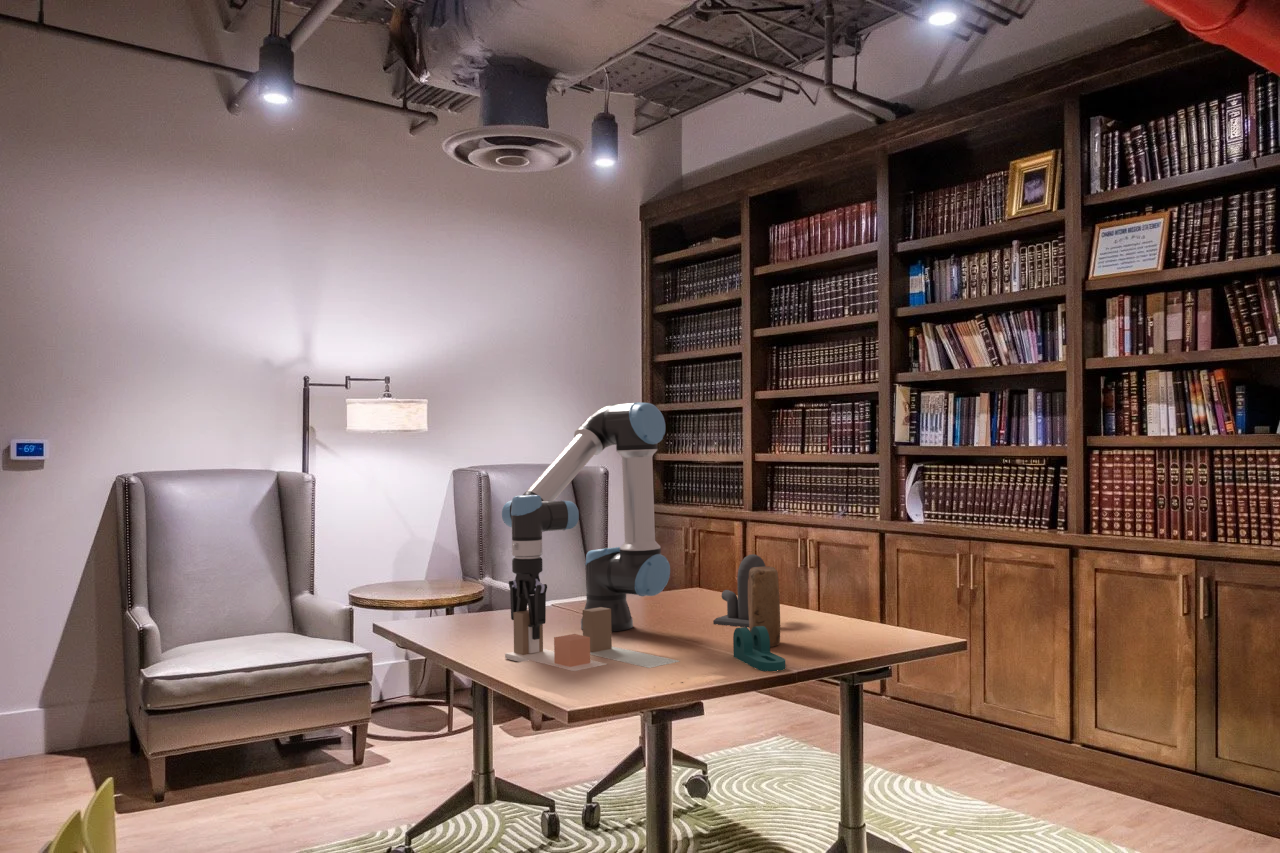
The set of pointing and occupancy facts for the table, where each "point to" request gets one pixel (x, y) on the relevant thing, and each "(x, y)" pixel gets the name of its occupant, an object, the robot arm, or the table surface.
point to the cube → (572, 650)
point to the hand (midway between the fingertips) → (528, 650)
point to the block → (764, 601)
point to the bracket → (756, 649)
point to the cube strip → (549, 660)
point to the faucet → (739, 595)
